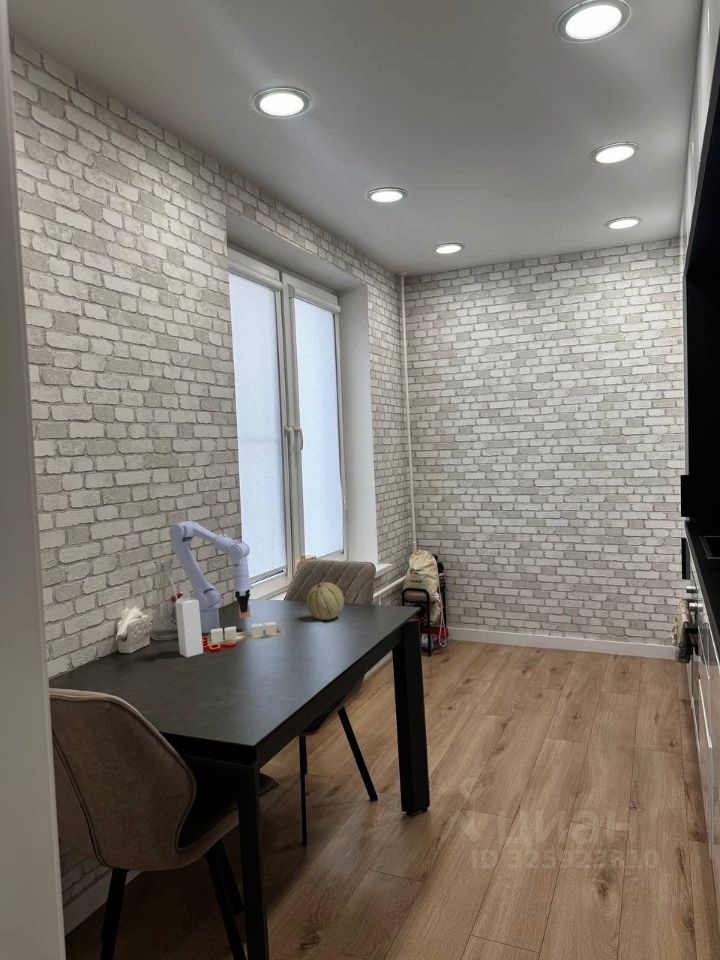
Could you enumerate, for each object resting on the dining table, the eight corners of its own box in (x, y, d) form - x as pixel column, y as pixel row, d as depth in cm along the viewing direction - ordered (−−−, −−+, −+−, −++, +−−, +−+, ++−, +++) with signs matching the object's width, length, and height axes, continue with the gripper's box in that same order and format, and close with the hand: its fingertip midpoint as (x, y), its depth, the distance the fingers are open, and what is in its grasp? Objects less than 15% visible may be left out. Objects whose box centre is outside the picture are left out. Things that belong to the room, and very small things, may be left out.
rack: (207, 647, 238) (207, 640, 238) (208, 641, 246) (208, 634, 246) (281, 638, 242) (280, 631, 242) (279, 632, 251) (279, 625, 251)
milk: (186, 659, 226) (180, 594, 224) (180, 656, 230) (173, 592, 229) (203, 655, 229) (197, 591, 228) (196, 651, 234) (190, 589, 233)
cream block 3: (252, 638, 243) (251, 627, 243) (252, 635, 247) (251, 624, 246) (263, 636, 243) (262, 625, 243) (263, 633, 247) (262, 623, 247)
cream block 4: (265, 636, 244) (264, 625, 243) (265, 633, 248) (264, 622, 247) (276, 635, 244) (276, 624, 244) (276, 632, 248) (275, 621, 248)
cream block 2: (225, 641, 241) (224, 630, 241) (225, 638, 245) (224, 627, 245) (236, 640, 242) (235, 629, 242) (236, 637, 246) (235, 626, 245)
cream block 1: (211, 643, 240) (210, 632, 240) (212, 640, 244) (211, 629, 244) (223, 641, 241) (222, 630, 241) (223, 638, 245) (222, 628, 245)
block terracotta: (239, 618, 251) (238, 607, 251) (239, 615, 255) (238, 605, 255) (250, 616, 252) (249, 606, 251) (250, 614, 256) (249, 604, 255)
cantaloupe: (349, 614, 270) (346, 577, 269) (339, 624, 256) (336, 585, 255) (314, 614, 274) (311, 578, 273) (302, 624, 259) (299, 586, 259)
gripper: (252, 577, 246) (255, 613, 247) (251, 570, 260) (254, 605, 261) (232, 579, 245) (236, 616, 245) (232, 572, 259) (235, 607, 260)
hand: (244, 611), depth 253 cm, fingers closed on block terracotta, 4 cm apart
